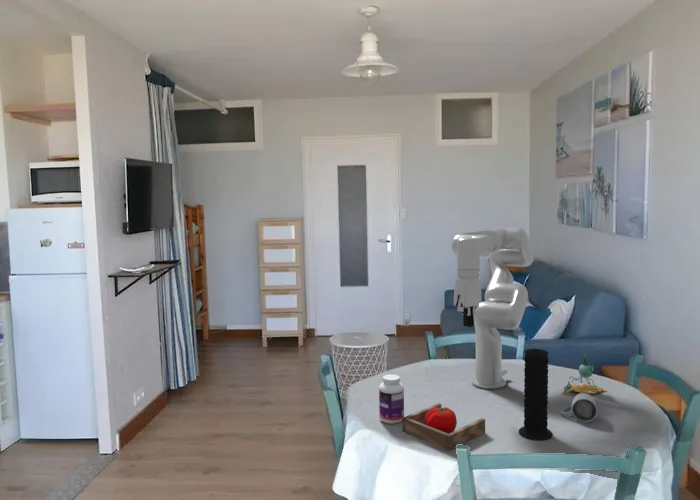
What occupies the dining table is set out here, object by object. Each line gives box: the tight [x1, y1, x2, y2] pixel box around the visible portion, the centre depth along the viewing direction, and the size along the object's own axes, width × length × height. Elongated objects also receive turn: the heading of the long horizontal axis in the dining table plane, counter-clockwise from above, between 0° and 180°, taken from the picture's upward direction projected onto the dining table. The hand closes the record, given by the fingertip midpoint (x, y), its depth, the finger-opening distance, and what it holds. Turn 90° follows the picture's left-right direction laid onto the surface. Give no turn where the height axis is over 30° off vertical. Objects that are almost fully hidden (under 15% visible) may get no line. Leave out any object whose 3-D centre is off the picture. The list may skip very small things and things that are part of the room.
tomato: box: [425, 406, 458, 434], centre depth 176 cm, size 9×10×8 cm
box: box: [401, 402, 486, 452], centre depth 177 cm, size 17×18×4 cm
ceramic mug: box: [560, 393, 598, 423], centre depth 186 cm, size 11×8×8 cm
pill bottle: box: [378, 374, 405, 425], centre depth 187 cm, size 8×8×14 cm
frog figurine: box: [560, 353, 607, 396], centre depth 209 cm, size 10×18×15 cm, turn 93°
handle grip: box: [517, 348, 554, 442], centre depth 174 cm, size 10×26×10 cm
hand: (468, 326), depth 199 cm, fingers closed
